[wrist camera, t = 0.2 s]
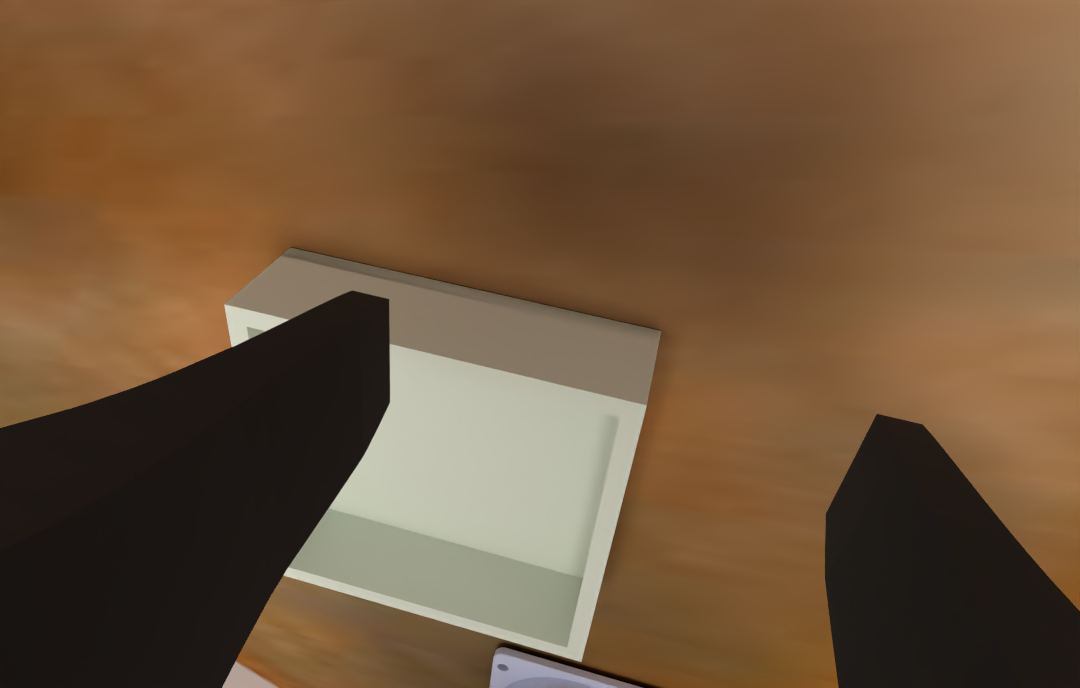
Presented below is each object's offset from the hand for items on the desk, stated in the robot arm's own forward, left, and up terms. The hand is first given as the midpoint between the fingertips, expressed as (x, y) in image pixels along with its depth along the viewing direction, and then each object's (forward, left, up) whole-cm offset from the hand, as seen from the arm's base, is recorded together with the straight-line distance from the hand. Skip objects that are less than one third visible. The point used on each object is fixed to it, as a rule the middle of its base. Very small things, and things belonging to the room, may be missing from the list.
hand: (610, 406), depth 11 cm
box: (-11, +5, -10) cm, 16 cm away
